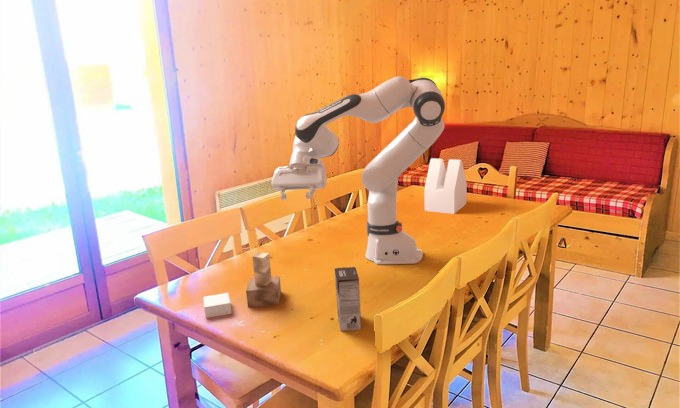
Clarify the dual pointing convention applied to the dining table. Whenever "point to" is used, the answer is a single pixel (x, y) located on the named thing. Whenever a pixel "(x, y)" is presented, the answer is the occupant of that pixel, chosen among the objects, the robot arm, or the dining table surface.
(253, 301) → the walnut block
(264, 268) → the oak pillar
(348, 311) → the coffee box
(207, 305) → the white square block
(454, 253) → the dining table surface
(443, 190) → the white notched block
